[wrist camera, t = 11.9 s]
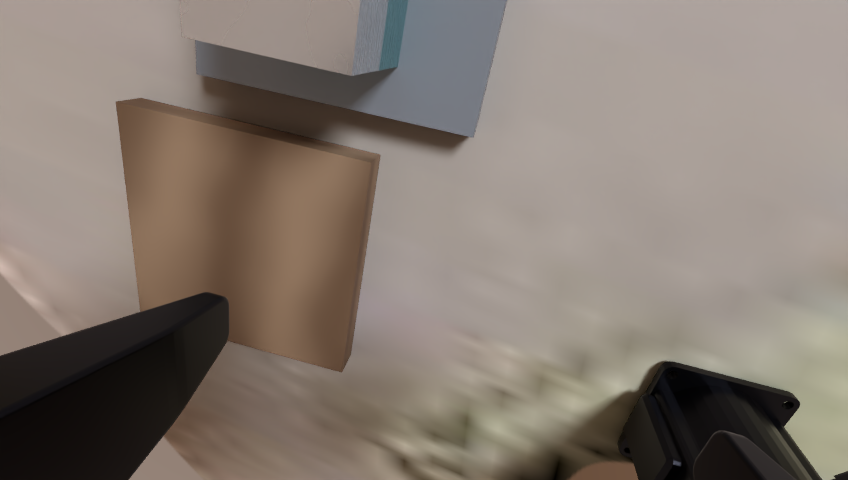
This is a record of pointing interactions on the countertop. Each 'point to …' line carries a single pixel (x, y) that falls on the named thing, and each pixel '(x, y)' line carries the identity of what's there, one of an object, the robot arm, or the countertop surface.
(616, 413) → the countertop surface
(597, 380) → the countertop surface
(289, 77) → the slate stand
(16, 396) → the robot arm
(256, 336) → the walnut stand
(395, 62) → the block
